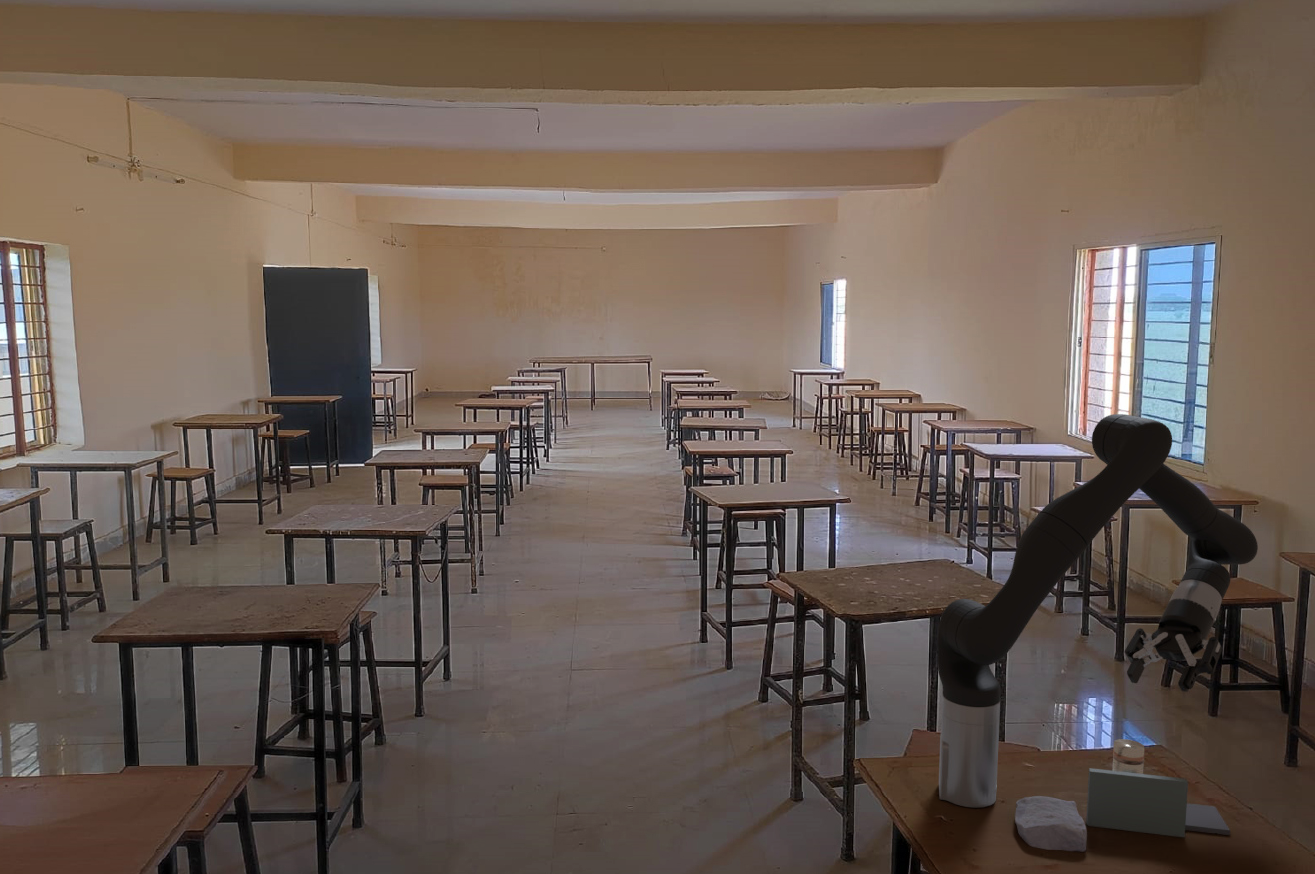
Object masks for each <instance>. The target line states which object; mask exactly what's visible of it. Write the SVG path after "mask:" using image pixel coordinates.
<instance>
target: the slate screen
mask: <svg viewBox="0 0 1315 874" xmlns="http://www.w3.org/2000/svg"><path fill="white" fill-rule="evenodd" d="M1188 790H1189V781H1188V780H1187V778H1184V777H1183V778H1182V777H1174V776H1166V775H1165V776H1164V775H1154V774H1146V773H1143V774H1138V773H1129V772H1120V771H1112V770H1111V769H1110V770H1108V769H1101V768H1088V781H1087V799H1086V800H1087V801H1086V803H1087V804H1086V816H1085V817H1086V818H1085V822H1086V823H1085V824H1086V825H1087V826H1088V827H1095V828H1103V829H1113V830H1122V831H1129V832H1136V833H1146V834H1155V835H1160V836H1161V835H1162V836H1169V837H1170V836H1171V837H1179V838H1185V837H1186V830H1185V824H1186V808H1187V803H1188ZM1087 826H1086V827H1087Z"/></svg>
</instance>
